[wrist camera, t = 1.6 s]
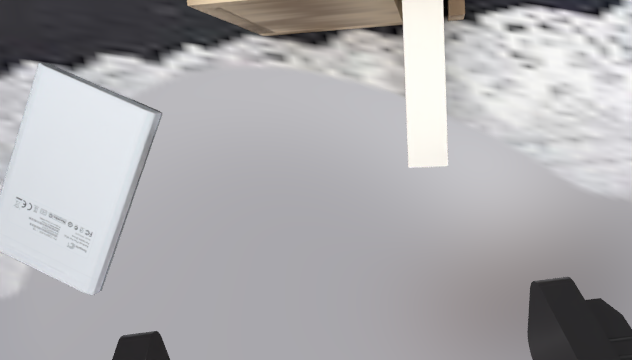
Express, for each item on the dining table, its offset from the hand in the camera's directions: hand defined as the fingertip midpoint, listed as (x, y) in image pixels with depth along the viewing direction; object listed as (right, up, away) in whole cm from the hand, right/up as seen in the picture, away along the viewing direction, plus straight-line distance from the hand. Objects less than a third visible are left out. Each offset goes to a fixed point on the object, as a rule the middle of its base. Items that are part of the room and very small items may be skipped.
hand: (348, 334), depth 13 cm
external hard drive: (-16, +3, +26) cm, 31 cm away
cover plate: (+5, +10, +20) cm, 23 cm away
